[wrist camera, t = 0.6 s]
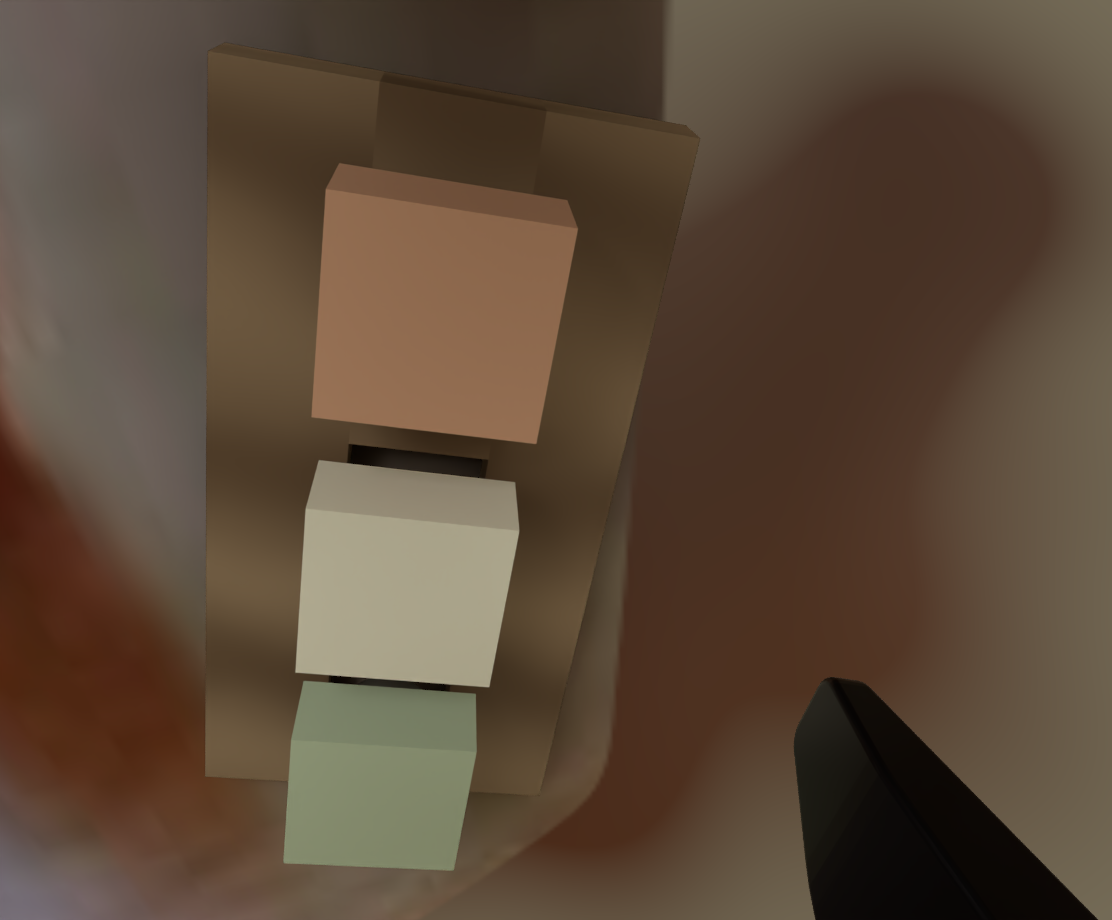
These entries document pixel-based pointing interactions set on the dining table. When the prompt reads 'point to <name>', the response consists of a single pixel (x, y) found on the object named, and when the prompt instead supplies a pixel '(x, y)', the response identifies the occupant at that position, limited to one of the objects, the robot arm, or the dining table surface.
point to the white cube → (404, 574)
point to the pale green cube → (379, 775)
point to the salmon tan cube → (438, 304)
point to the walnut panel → (301, 440)
